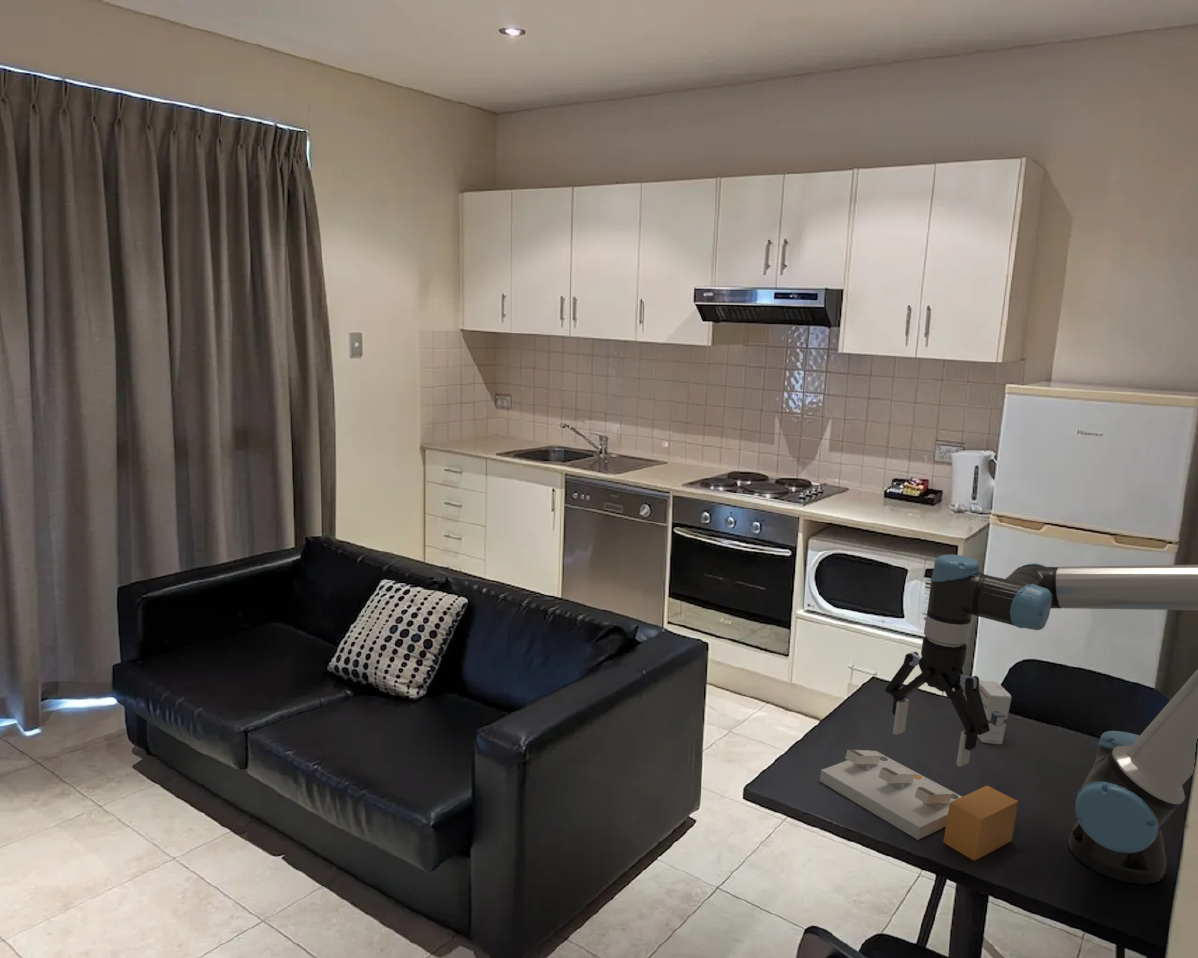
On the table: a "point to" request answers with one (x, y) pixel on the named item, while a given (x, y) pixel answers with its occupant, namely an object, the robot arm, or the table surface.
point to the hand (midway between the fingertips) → (929, 747)
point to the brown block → (980, 822)
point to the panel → (889, 795)
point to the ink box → (994, 710)
